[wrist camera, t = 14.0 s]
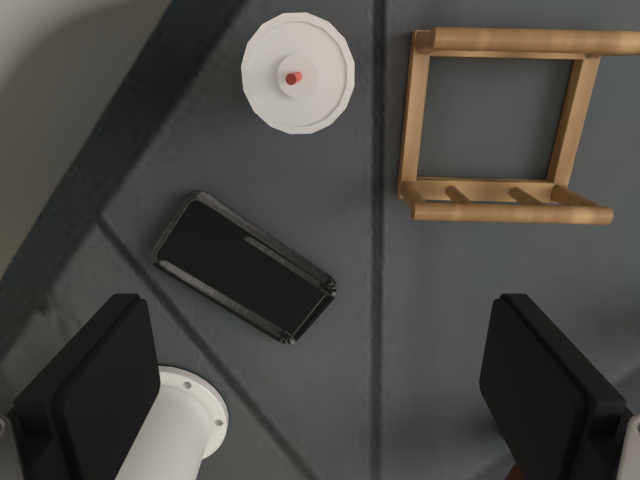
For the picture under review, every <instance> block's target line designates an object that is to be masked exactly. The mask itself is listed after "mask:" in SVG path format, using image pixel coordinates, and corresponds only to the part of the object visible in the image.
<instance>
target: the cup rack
mask: <svg viewBox="0 0 640 480" xmlns="http://www.w3.org/2000/svg"><path fill="white" fill-rule="evenodd" d="M624 55H640V31H606V30H561V29H516V28H472V27H433V29H432V30H415V31H412V39H411V50H410V61H409V71H408V82H407V92H406V103H405V113H404V124H403V134H402V145H401V155H400V166H399V176H398V187H397V196H398V198H399V199H404V200H405V202H406V204H407V205H408V207H409V209H410V210H411V218H412V220H432V221H475V222H517V223H559V224H601V225H607V224H610V223H611V222H612V220H613V210H612V209H611V208H610V207H603V206H600V205H598V204H596V203H594V202H592V201H590V200H589V199H587V198H585V197H583V196H581V195H579V194H577V193H575V192H573V191H571V190H569V189H567V186H568V183H569V179H570V175H571V171H572V167H573V163H574V159H575V155H576V151H577V148H578V144H579V140H580V136H581V132H582V128H583V124H584V120H585V116H586V113H587V109H588V105H589V101H590V97H591V93H592V89H593V85H594V81H595V78H596V74H597V70H598V66H599V62H600V59H601V56H624ZM430 56H433V57H477V58H521V59H565V60H574V63H573V67H572V71H571V76H570V80H569V84H568V88H567V93H566V97H565V101H564V105H563V110H562V114H561V118H560V122H559V127H558V131H557V135H556V139H555V144H554V148H553V152H552V156H551V161H550V165H549V169H548V173H547V178H546V180H542V179H499V178H456V177H416V176H417V167H418V159H419V150H420V141H421V132H422V123H423V114H424V105H425V96H426V87H427V78H428V69H429V61H430ZM425 200H452V201H453V202H454V203H433V202H426V201H425ZM471 201H499V202H519V203H520V204H522V205H518V204H475V203H472V202H471ZM544 203H560V204H561V205H563V206H560V205H546V204H544Z"/></svg>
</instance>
